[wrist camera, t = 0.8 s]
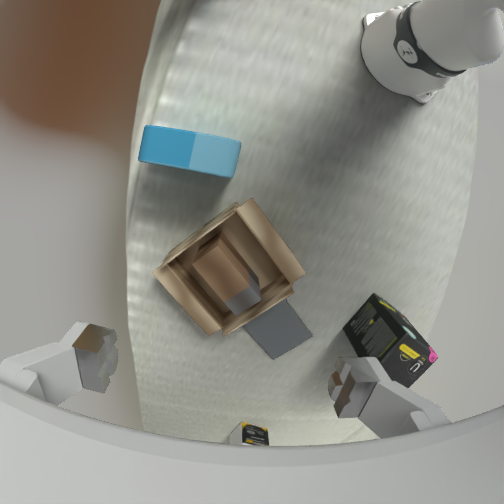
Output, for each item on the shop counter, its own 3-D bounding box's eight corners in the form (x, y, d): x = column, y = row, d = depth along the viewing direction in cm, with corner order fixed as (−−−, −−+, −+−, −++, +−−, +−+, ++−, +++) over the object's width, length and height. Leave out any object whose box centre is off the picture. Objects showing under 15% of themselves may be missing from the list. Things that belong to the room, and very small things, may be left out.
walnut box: (221, 230, 47) (217, 245, 39) (258, 277, 50) (261, 299, 42) (199, 246, 48) (191, 264, 40) (236, 292, 50) (236, 316, 43)
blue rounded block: (241, 145, 43) (241, 140, 32) (234, 173, 44) (232, 179, 33) (165, 131, 42) (141, 123, 30) (160, 159, 43) (133, 160, 32)
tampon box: (405, 315, 54) (440, 356, 40) (376, 348, 56) (404, 394, 42) (372, 290, 52) (408, 332, 38) (341, 327, 54) (367, 376, 40)
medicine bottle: (268, 428, 63) (271, 466, 51) (253, 441, 65) (255, 479, 53) (241, 420, 62) (242, 460, 50) (228, 435, 63) (227, 473, 52)
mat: (274, 285, 50) (274, 286, 50) (312, 334, 54) (312, 336, 54) (232, 313, 52) (232, 314, 52) (273, 358, 55) (273, 359, 55)
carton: (249, 191, 45) (251, 198, 38) (301, 263, 49) (310, 281, 42) (159, 260, 48) (146, 277, 41) (212, 321, 52) (209, 345, 45)
